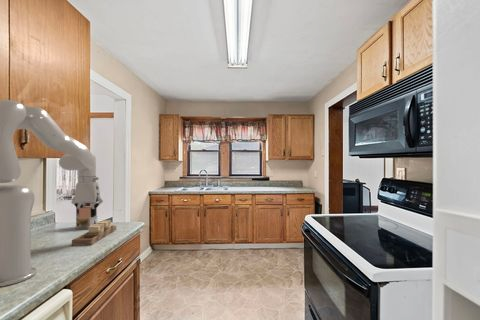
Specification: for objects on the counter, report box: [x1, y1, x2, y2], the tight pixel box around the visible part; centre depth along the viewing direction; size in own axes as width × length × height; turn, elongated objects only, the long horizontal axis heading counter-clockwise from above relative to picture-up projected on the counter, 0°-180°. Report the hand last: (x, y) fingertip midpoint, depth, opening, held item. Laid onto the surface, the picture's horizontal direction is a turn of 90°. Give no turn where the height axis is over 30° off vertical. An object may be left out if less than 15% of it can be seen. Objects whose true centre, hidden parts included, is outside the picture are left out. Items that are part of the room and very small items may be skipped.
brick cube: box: [79, 206, 95, 219], centre depth 118 cm, size 5×5×5 cm
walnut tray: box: [71, 219, 117, 246], centre depth 126 cm, size 25×9×6 cm, turn 2°
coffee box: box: [75, 202, 98, 230], centre depth 144 cm, size 9×6×16 cm
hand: (87, 216), depth 118 cm, fingers closed on brick cube, 4 cm apart
